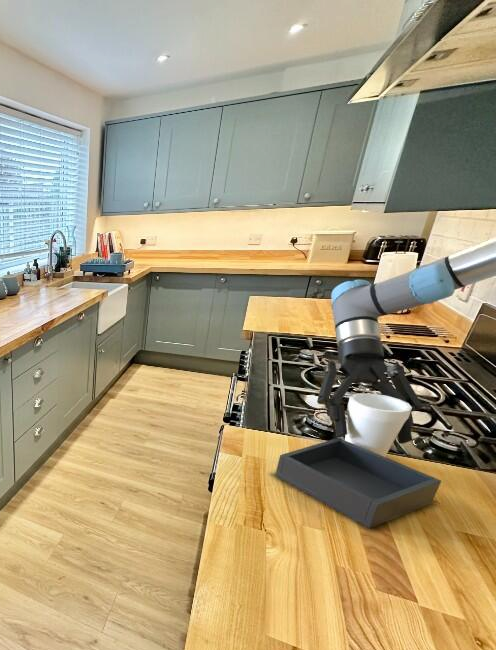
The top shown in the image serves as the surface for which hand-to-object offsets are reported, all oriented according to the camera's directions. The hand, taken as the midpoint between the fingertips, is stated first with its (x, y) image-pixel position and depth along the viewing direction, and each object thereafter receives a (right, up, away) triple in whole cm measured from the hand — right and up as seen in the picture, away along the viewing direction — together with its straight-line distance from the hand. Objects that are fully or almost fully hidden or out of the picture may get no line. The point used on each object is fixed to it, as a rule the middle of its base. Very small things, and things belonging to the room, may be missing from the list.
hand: (373, 438), depth 87 cm
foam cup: (+1, -5, +4) cm, 6 cm away
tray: (-10, -9, -6) cm, 15 cm away
